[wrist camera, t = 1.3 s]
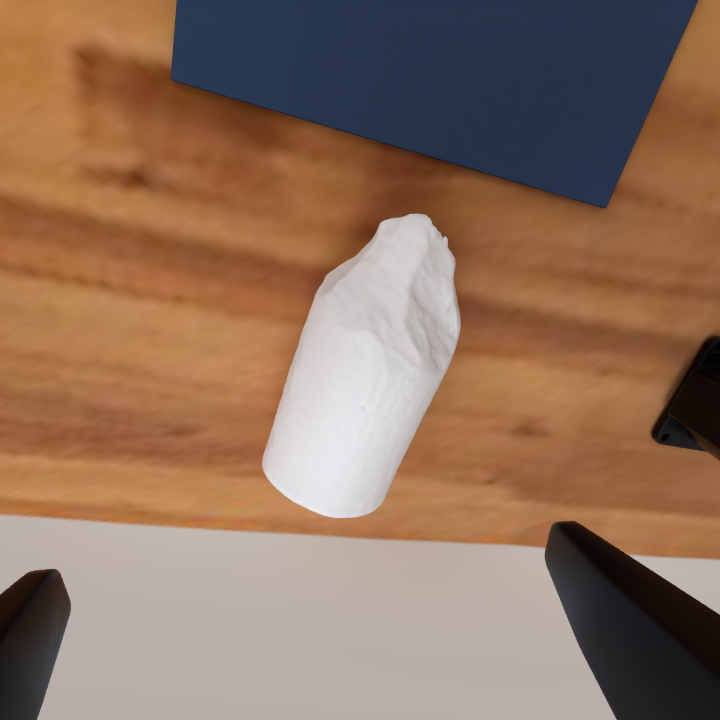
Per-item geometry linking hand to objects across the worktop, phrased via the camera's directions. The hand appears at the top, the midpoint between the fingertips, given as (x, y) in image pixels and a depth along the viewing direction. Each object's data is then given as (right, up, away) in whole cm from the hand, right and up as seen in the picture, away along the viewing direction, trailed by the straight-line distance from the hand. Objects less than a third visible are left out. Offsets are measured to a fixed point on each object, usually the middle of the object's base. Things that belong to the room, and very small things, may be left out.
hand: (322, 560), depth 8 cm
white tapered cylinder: (+1, +5, +13) cm, 14 cm away
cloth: (+4, +16, +8) cm, 18 cm away
